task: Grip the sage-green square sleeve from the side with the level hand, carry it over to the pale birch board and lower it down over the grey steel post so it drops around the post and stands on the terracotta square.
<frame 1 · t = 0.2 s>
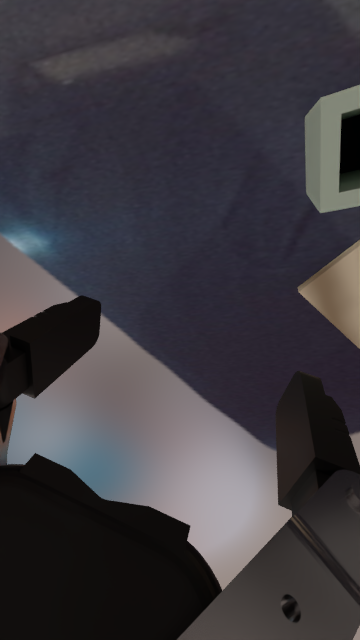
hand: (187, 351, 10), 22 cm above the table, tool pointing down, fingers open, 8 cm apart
sleeve: (344, 147, 23), on the table
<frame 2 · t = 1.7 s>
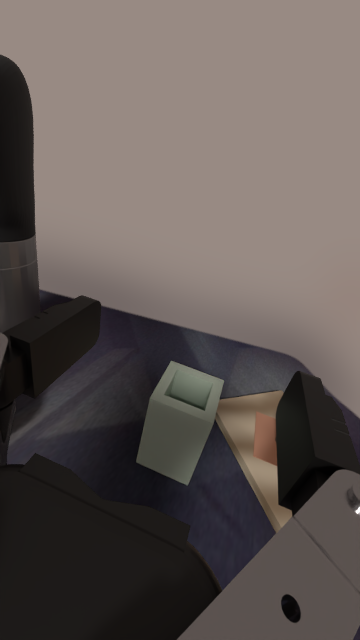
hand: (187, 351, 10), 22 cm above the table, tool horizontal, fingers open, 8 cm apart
sleeve: (170, 449, 31), on the table
post board: (278, 448, 34), on the table
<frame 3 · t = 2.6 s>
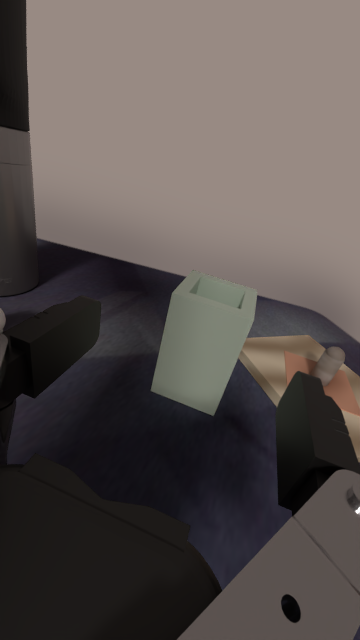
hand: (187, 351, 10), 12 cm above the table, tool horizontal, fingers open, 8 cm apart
sleeve: (190, 381, 26), on the table
post board: (313, 387, 29), on the table
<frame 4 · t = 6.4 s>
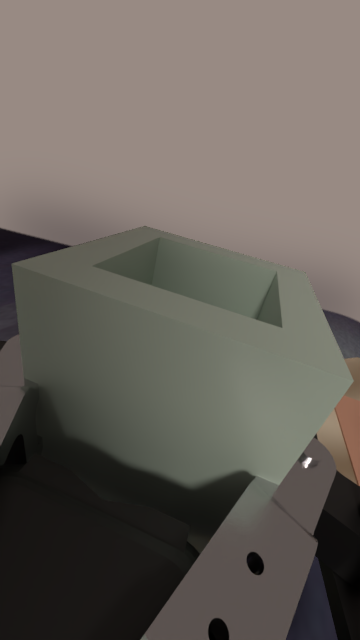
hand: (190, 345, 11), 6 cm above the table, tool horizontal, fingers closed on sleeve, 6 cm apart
sleeve: (146, 480, 12), on the table, touching gripper
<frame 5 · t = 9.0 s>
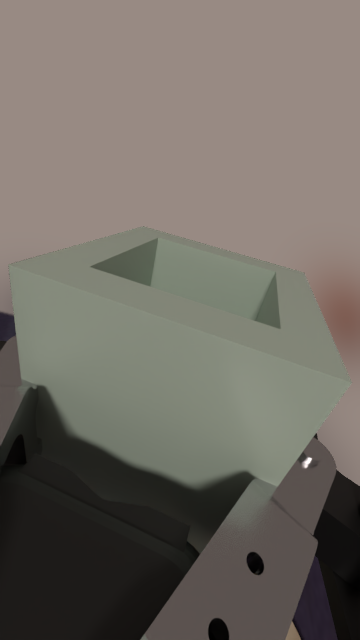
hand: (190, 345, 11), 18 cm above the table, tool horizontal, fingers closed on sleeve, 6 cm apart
sleeve: (145, 481, 12), point 12 cm above the table, touching gripper
when the fingers open (9 cm above the table, at t = 11.6 s): sleeve drops 1 cm, resting on post board.
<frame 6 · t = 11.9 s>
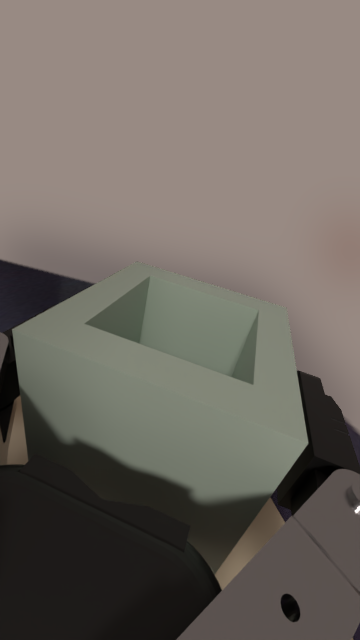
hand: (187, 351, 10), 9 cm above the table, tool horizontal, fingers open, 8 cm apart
sleeve: (140, 498, 12), point 1 cm above the table, touching post board
post board: (138, 510, 13), on the table
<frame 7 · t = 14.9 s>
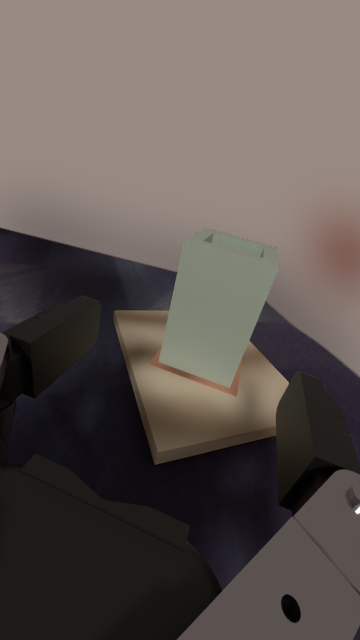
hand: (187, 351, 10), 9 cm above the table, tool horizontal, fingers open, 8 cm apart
sleeve: (201, 354, 24), point 1 cm above the table, touching post board
post board: (198, 365, 24), on the table
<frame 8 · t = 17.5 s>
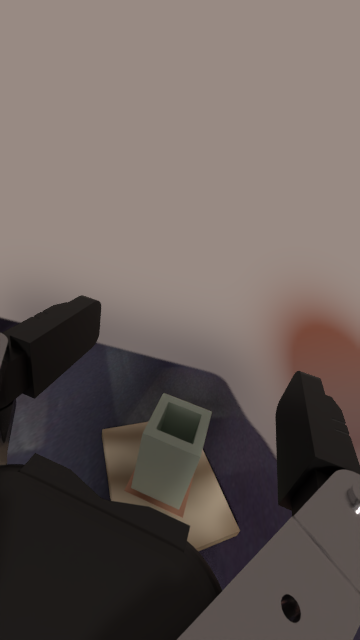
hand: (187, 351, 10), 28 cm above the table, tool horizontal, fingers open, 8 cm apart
sleeve: (163, 474, 33), point 1 cm above the table, touching post board
post board: (162, 479, 34), on the table
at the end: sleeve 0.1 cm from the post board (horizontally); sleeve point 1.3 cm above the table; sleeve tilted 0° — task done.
